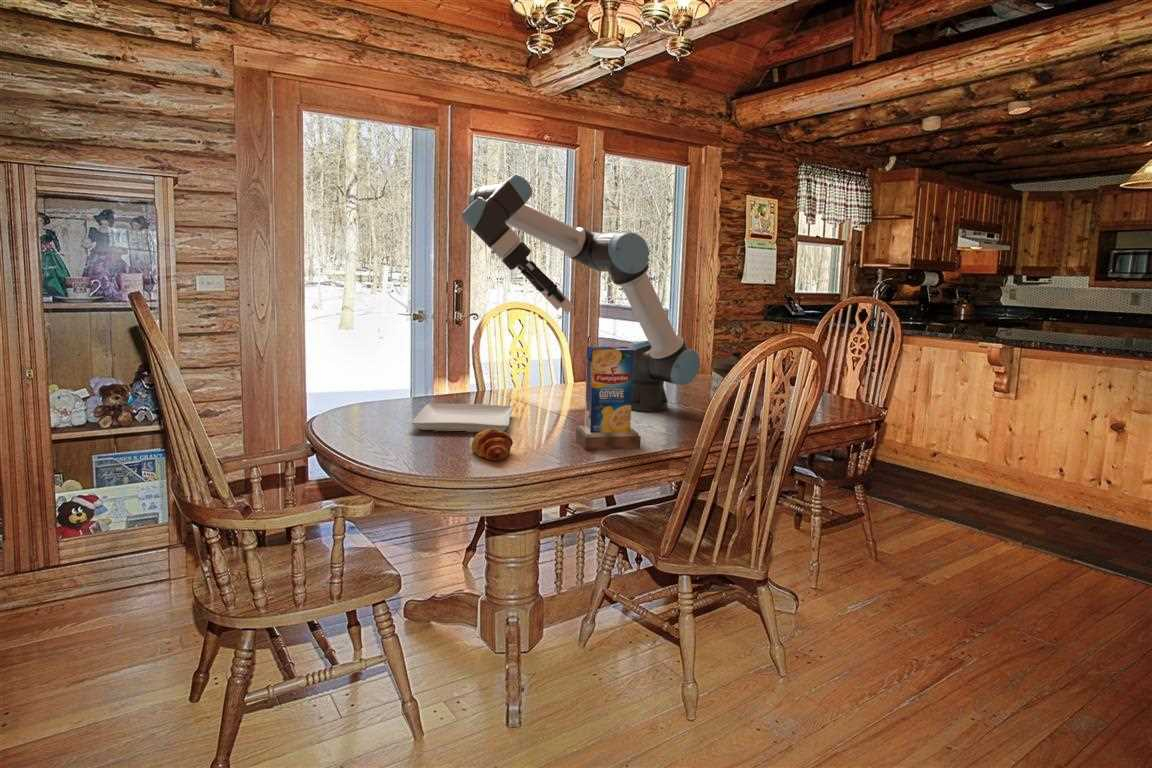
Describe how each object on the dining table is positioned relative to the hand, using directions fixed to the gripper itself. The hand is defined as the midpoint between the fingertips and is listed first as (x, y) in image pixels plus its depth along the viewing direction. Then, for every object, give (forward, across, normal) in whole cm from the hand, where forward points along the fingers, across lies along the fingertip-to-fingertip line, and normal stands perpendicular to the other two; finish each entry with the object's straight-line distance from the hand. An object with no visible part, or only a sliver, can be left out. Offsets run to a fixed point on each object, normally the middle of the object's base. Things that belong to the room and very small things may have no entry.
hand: (565, 308), depth 194 cm
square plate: (+8, -19, -44) cm, 48 cm away
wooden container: (+69, -23, +18) cm, 75 cm away
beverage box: (+30, +9, -15) cm, 35 cm away
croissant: (+11, +15, -40) cm, 44 cm away
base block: (+33, +9, -18) cm, 38 cm away
